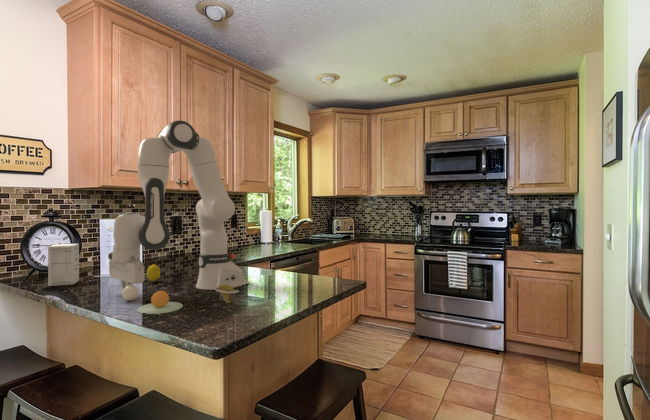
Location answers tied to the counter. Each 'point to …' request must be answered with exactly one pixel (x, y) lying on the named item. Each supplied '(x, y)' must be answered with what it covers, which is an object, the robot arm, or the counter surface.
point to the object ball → (159, 299)
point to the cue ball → (130, 292)
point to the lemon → (153, 272)
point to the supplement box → (63, 264)
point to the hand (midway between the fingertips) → (126, 292)
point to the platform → (226, 293)
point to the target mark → (155, 310)
